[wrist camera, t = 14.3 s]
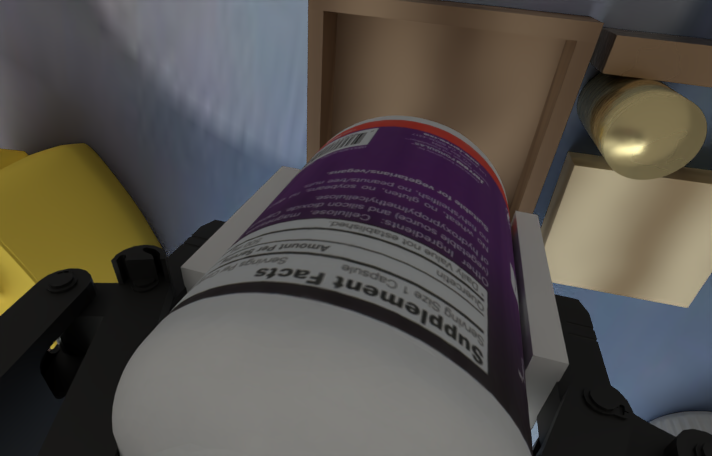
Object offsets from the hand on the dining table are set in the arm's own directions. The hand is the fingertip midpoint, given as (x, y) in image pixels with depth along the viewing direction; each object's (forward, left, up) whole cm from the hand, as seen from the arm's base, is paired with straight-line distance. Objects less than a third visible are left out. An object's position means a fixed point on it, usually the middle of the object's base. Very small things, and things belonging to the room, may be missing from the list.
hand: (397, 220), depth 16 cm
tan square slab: (+13, -4, -12) cm, 18 cm away
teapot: (-29, -13, -12) cm, 34 cm away
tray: (0, 0, -11) cm, 11 cm away
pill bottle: (0, 0, -1) cm, 1 cm away
